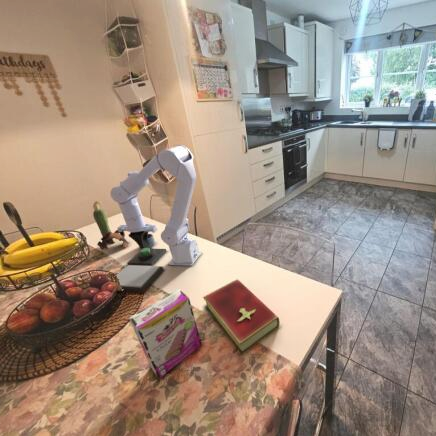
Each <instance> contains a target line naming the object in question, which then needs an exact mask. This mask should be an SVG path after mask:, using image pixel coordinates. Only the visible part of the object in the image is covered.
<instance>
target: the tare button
mask: <svg viewBox="0 0 436 436" xmlns="http://www.w3.org/2000/svg"><path fill="white" fill-rule="evenodd" d="M140 251H141V253H142V255H146V254H148V253H150V249H149V248H144V249H141V250H140Z"/></svg>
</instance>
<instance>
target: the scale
mask: <svg viewBox="0 0 436 436" xmlns="http://www.w3.org/2000/svg"><path fill="white" fill-rule="evenodd" d="M164 271H165V270H164V267H163V265H162V266H161V265H153V266H137V265H128V264H127V265H126V266H125V267H124V268H123V269H122V270H120V271H119V272H118V273H117V274H115V276H117V278H118V279H119V282H120V286H122V289H124V290H123V292H122V293H128V294H129V293H133V294H144V293H146V291H147V290H148V289H149V287H150V286H152V284H153V283H154V282H155V281H156V280H157V279H158V278H159V276H160V275H161V274H162V273H163V272H164Z"/></svg>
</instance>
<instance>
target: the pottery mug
mask: <svg viewBox="0 0 436 436" xmlns="http://www.w3.org/2000/svg"><path fill="white" fill-rule="evenodd" d="M125 233H126V232H125V231H122V232H119V231H118V229H116V230H114V232H112V231H111V232H108V233H107V234H105V235H104V236H102V237H101V238H100V241H98V242H97V246H98V247H99V249H100V250H101V251H102V250H105V249H107V250H109V247H108V245H114V244H116V242H115V241H114V239H115V240H117V241H119V242H122V244H121V246H122V247H123V248H124V249H126V248H127V247H128V246H129V242H128V241H127V239H126V238H125V236H126V234H125Z"/></svg>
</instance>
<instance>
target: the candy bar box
mask: <svg viewBox="0 0 436 436" xmlns="http://www.w3.org/2000/svg"><path fill="white" fill-rule="evenodd" d="M128 319H129V321H130V324H131V326H132V328H133V331H134V333H135V335H136V337H137V340H138V342H139V345H140V347H141V349H142V352H143V353H144V356H145V358H146V360H147V363H148V366H150V368H151V370H152V372H153V373H154V374H155V376H156V377H157V378H158V380H160V379H161V378H163V377H164V376H166V375H167V374H168V373H169V372H170V371H171V370H173V369H174V368H175V367H177V366H178V365H179V364H180V363H181V362H183V361H184V360H185V359H186V358H187V357H189V356H190V355H191V354H193V353H194V352H195V351H197V350H198V349H199V348H200V347H201V346H202V340H201V337H200V333H199V330H198V325H197V321H196V318H195V314H194V311H193V307H192V304H191V300H190V297H189V296H188V295H187V294H186V293H184V291H182V290H181V289H180V288H178V289H176V290H175V291H173V292H171V293H169V294H168V295H166V296H164V297H162V298H161V299H159V300H157V301H156V302H154V303H152V304H151V305H149V306H147V307H145V308H143V309H142V310H140V311H138V312H136V313H134V314H133V315H131V316H129V317H128Z"/></svg>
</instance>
